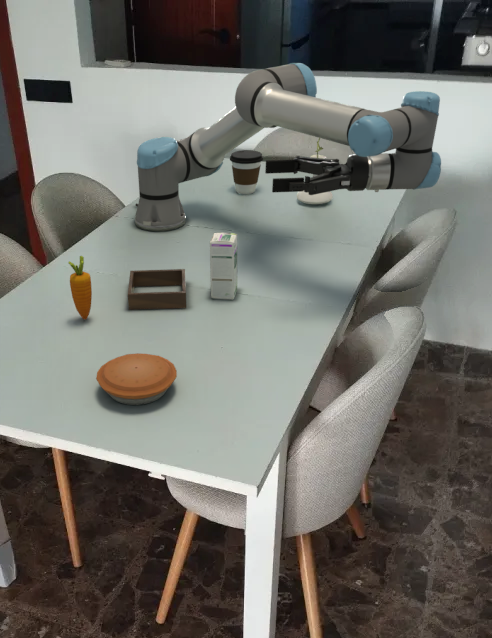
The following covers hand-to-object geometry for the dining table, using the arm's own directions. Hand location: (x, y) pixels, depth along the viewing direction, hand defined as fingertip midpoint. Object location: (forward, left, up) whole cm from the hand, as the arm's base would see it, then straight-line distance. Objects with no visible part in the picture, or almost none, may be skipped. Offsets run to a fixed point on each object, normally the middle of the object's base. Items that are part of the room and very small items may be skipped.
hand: (268, 175), depth 154 cm
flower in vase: (-45, +54, -28) cm, 76 cm away
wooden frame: (-13, -22, -28) cm, 38 cm away
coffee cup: (-66, +42, -28) cm, 83 cm away
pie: (+21, -46, -28) cm, 58 cm away
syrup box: (-5, -8, -28) cm, 30 cm away
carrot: (-12, -42, -28) cm, 52 cm away
